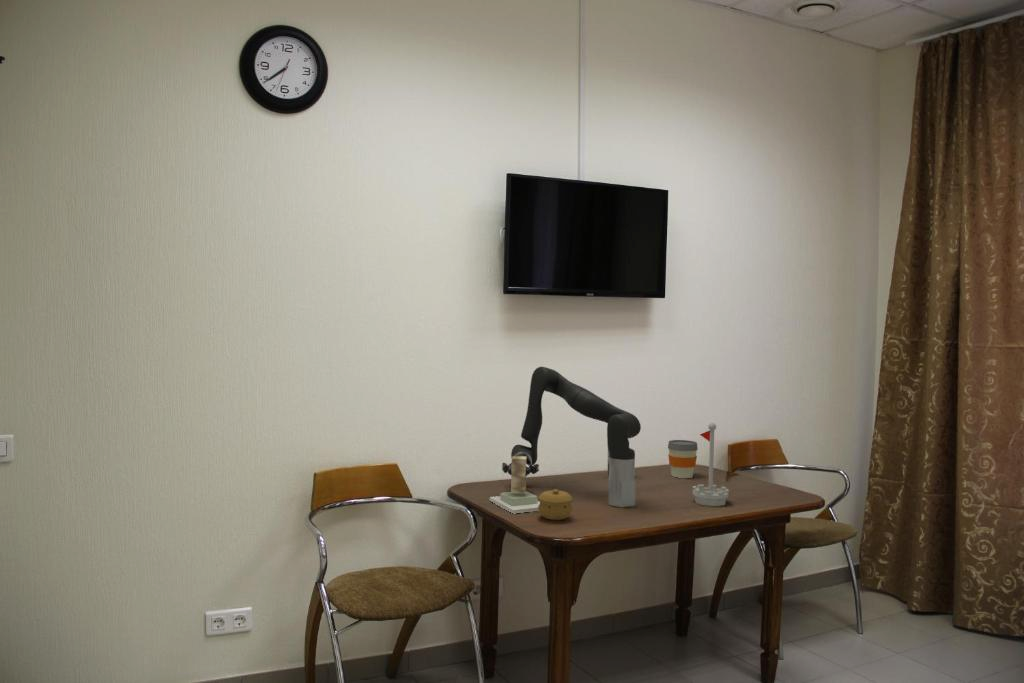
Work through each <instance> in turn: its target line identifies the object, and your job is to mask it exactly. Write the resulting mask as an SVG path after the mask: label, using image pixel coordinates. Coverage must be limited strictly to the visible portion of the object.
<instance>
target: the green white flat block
mask: <svg viewBox="0 0 1024 683" xmlns="http://www.w3.org/2000/svg"><path fill="white" fill-rule="evenodd" d="M538 499H539V496H538V495H535V494H533V493H531V492H529V491H528V490H526V491H525V493H521V492H511V491H507V492H506V491H505V492H500V494H499V496H497V495H496V496H490V497H489V502H490V501H491V503H492V502H493V503H492V504H494V503H495V504H494V505H496V506H497V505H498V506H497V507H499V506H500V507H499V508H501V509H503V510H504V509H505V510H504V511H506V510H507V511H506V512H508V511H509V512H508V513H510V512H511V513H510V514H512V513H513V514H512V515H517V514H516V513H521V514H525V513H524V512H530V513H534V512H533V511H539V510H538V506H539V504H540V502H539V501H538Z"/></svg>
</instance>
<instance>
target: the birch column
mask: <svg viewBox="0 0 1024 683" xmlns="http://www.w3.org/2000/svg"><path fill="white" fill-rule="evenodd" d="M526 461H527V457H524V456H513V457H512V458H511V462H512V472H511V475H510V476H511V479H510V485H511V486H510V492H521V493H525V491H527V476H526V475H525V474H526Z"/></svg>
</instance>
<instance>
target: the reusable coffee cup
mask: <svg viewBox="0 0 1024 683" xmlns="http://www.w3.org/2000/svg"><path fill="white" fill-rule="evenodd" d="M667 446H668V447H667V449H668V454H667V455H668V456H667V457H668V463H669V466H670V474H671V475H672V476H674V477H678V478H691V477H693V476H694V471H695V467H696V464H697V458H698V456H697V452H698V449H699V448H698V442H696V441H693V440H687V439H686V440H685V439H674V440H673V439H672V440H669V441H668V444H667ZM672 476H671V477H672ZM674 477H673V478H674ZM678 478H677V479H678ZM693 478H694V477H693ZM691 479H692V478H691Z"/></svg>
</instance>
